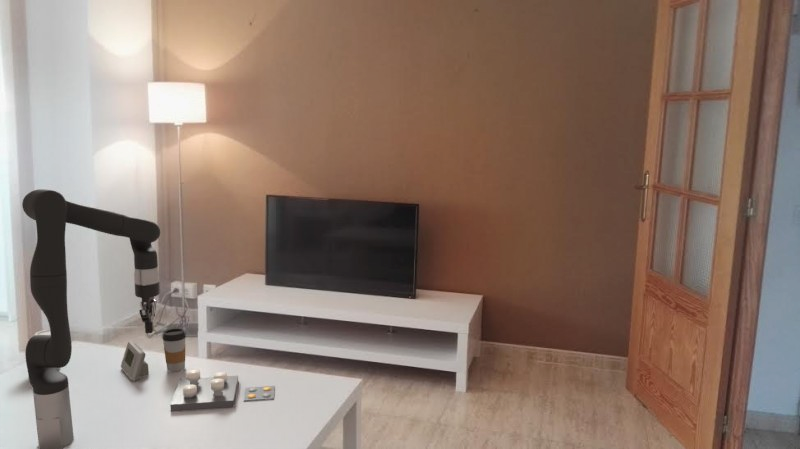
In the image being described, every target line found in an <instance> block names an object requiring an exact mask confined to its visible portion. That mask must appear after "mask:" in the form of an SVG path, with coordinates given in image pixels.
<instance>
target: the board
mask: <svg viewBox="0 0 800 449" xmlns="http://www.w3.org/2000/svg"><path fill="white" fill-rule="evenodd" d="M213 379H214V376H211V377H210V376H207V377H200V379H199V380H198V386H197V394H196V395H195V397H194V398H186V397H185V396H183V387H184V386H186V385H190V381H188V380H187V378H180V379H179V382H178V384H177V387H176V390H175V391H174V394H173V397H172V399H171V402H170V404H169V405H170V406H169V407H170V412H188V411H201V410H202V411H203V410H204V411H205V410H216V409H229V408H231V409H232V408H235V403H236V397H237V392H238V391H237V390H238V386H239V375H227V382H225V385H224V389H222V396H214V391H213V390H211V381H212V380H213Z"/></svg>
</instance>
